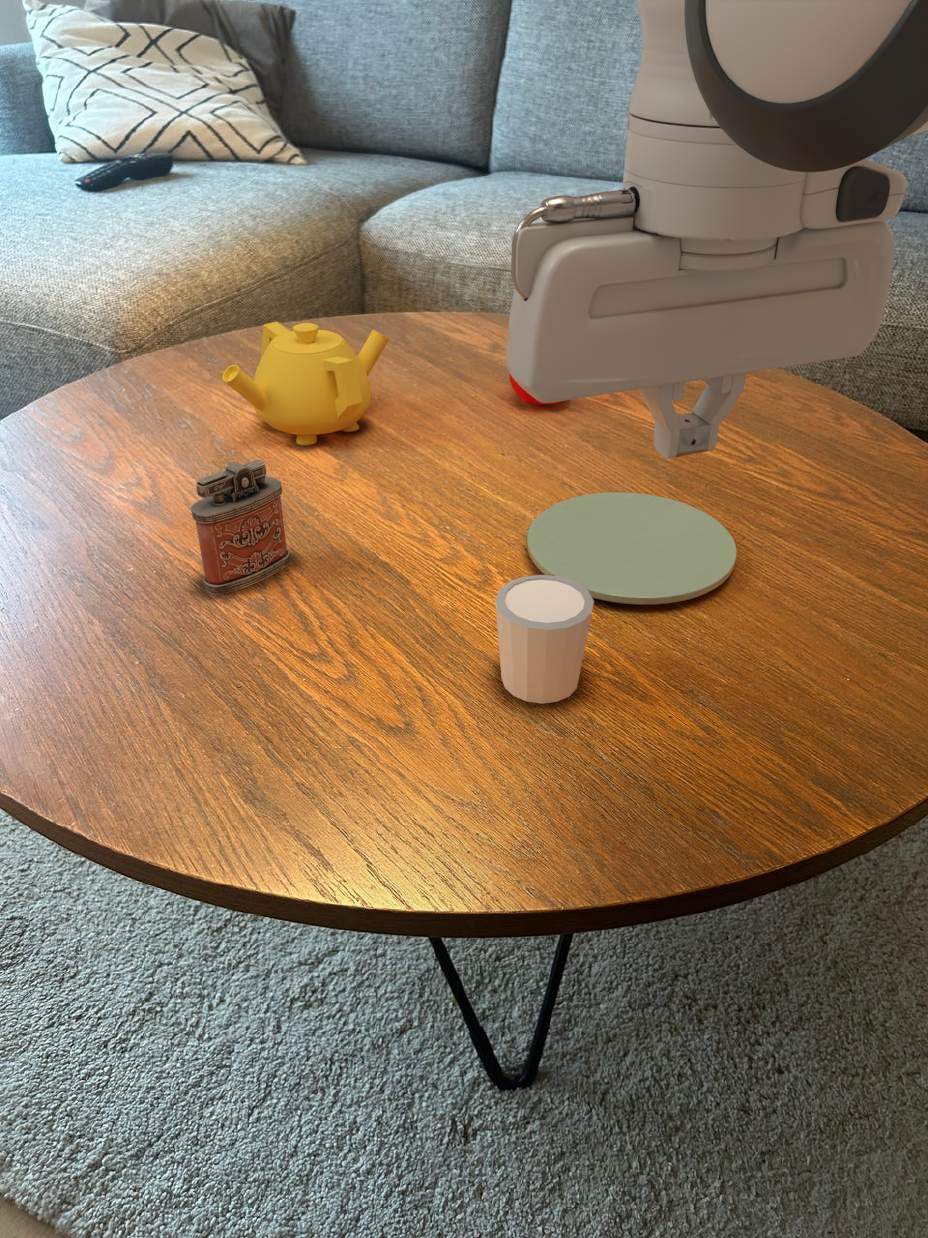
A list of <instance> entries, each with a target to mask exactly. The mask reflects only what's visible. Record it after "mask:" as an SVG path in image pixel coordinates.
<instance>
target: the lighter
mask: <svg viewBox="0 0 928 1238" xmlns="http://www.w3.org/2000/svg"><path fill="white" fill-rule="evenodd" d="M266 475H267V467H266V462H265V461H264V460H262V459H255V460H252V461H249V462H245V463H243V464H241V463H239V462H237V461H232V462H229V463H228V464H226V467H225V469H224V471H217V472H215V473H212V474H209V475H207V476H204V477H201V478H199V479H197V481H196V482H195V487H196V494H197V496H198V497H200V498H202V499H200V500H198V501H196V502H194V503H193V504H192V505H191V507H190V511H191V516H192V520H194V522H195V526H196V532H197V538H198V544H199V549H200V554H201V555H200V556H201V561H202V567H203V573H204V575H203V578H202V579H203V585H204V590H205V591H206V592H207V593H209V594H211V595H215V596H222V595H227V594H230V593H233V592H236V591H239V590H243V589H245V588H247V587H250V586H252V585H255V584H258V583H259V582H262V581H264V580H266V579H268V578H270V577H272V576H273V575H275V574H277V573H278V572H280V571H282V570H283V569H285V568H286V567H288V566H289V565H290V563H291V557H290V551H289V549H288V548H287V540H286V532H285V523H284V516H283V505H282V497H281V496H282V494H283V486H282V482H281V480H280V479H277V478H275V477H267V476H266Z"/></svg>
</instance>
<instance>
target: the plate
mask: <svg viewBox="0 0 928 1238" xmlns="http://www.w3.org/2000/svg"><path fill="white" fill-rule="evenodd" d="M529 525H530V526H529V527H528V529H527V535H526V548H527V553H528V555H529V558H530V560H531V561H532V563H533V564H534V566H535V567H536V568H537V569H538V570H539V571H540V572H541V573H542V575H548V576H557V577H562V578H565V579H568V580H571V581H574V582H576V583H578V584H579V585H581V586H582V587H583V588H585V589H586V590H588V591H589V593H590V595H591V597H592V599H597V600H601V601H606V602H611V603H618V604H624V605H638V606H639V605H640V606H641V605H664V604H665V605H666V604H671V603H678V602H683V601H688V600H692V599H695V598H698V597H700V596H703V595H706V594H707V593H709V592H711V591H713V590H715V589H716V588H718V587H719V586H721V585H723V584H724V583H725V582H726V581H727V580H728V579H729V577H730V576H731V574H732V573H733V571H734V568H735V566H736V562H737V556H738V555H737V553H738V552H737V545H736V542H735V540H734V538H733V536H732V534H731V533H730V531H729V530H728V529H727V528H726V527H725V526H724V525H723V524H722V523H721V522H719V521H718V520H717V519H716V518H714V517H713V516H711V515H710V514H708V513H707V512H705V511H703V510H701V509H700V508H697V507H694V506H692V505H690V504H687V503H685V502H681V501H678V500H676V499H672V498H668V497H664V496H659V495H655V494H654V495H653V494H649V493H648V494H647V493H639V492H627V491H625V492H623V491H615V492H614V491H609V492H596V493H589V494H583V495H579V496H574V497H571V498H567V499H564V500H561V501H559V502H557V503H555V504H552V505H551V506H549V507H547V508H546V509H544V510H543V511H541V512H540V513H539V514H538V515H537V516H536V517H535V518H534V519H533V521H532V522H531V523H530V524H529Z"/></svg>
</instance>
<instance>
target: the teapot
mask: <svg viewBox="0 0 928 1238" xmlns="http://www.w3.org/2000/svg"><path fill="white" fill-rule="evenodd" d="M292 329H293V330H290V329H288V328H286V327H285V326H284V325H282V324H281V323H280V322H279V321H277V320H276V321H272V322H269V323H265V324H263V325H262V337H261V348H260V361H259V362H258V365H257V368H256V371H255V373H254V377H253V379H252V378H251V377H250V376H249V375H248V374H247V373H246V372H245V371H244V370H242V368H240V367H239V366H238V365H237V364H232V365H230V366H228V367H227V368H226V369H225V370H224V371H223V373H222V376H221V379H222V381H223V382H224V383H226V384H227V385H228V386H229V387H230V388H231V389H233V390H234V391H236V393H238V394H239V395H240V396H241V397H242V398H243V399H245V401H247V402H248V403H250V404H251V405H252V407H253V409H254V411H255V413H256V415H258V416H259V418H261V419H262V421H264V422H265V423H266V424H268V425H269V426H270V427H272V428H273V429H275V430H277V431H280V432H283V433H286V434H291V435H296V439H295V442H296V444H298V445H300V446H311V445H313V444H316V443H317V442H318V436H317V435H323V434H331V433H335V432H338V431H342V432H345V433H347V432H348V433H349V432H351V433H352V432H355V431H357V430H359V429H360V426H359V424H358V422H359V420H360V419H361V418H362V417H363V416H364V414H365V413H366V412H367V411H368V409H369V407H370V406H371V403H372V399H373V397H372V388H371V384H370V380H369V375H370V373H371V372H372V369H373V368H374V367H375V364H376V363H377V361H378V360H379V358H380V356H381V354H382V353H383V351H384V349H385V348H386V346H387V345H388V342H389V341H390V338H388V337H387V336H385V335H383V334H382V333H380V332H379V331H376V329H372V330H371V332H370V334H369V336H368V337H367V339H366V341H365V343H364V344H363V345H362V347H361V350H360V351H359V353H358V354H356V353H355V351H354V350H353V348H351V346H350V345H349V343H348V342H347V341H346V340H345V339H344V338H343V337H342V336H341V335H340V334H339V333H336V332H333V331H331V330H326V329H319V325H318V324H316V323H313V322H302V323H298V324H296V325H294V326H293V328H292Z"/></svg>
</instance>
